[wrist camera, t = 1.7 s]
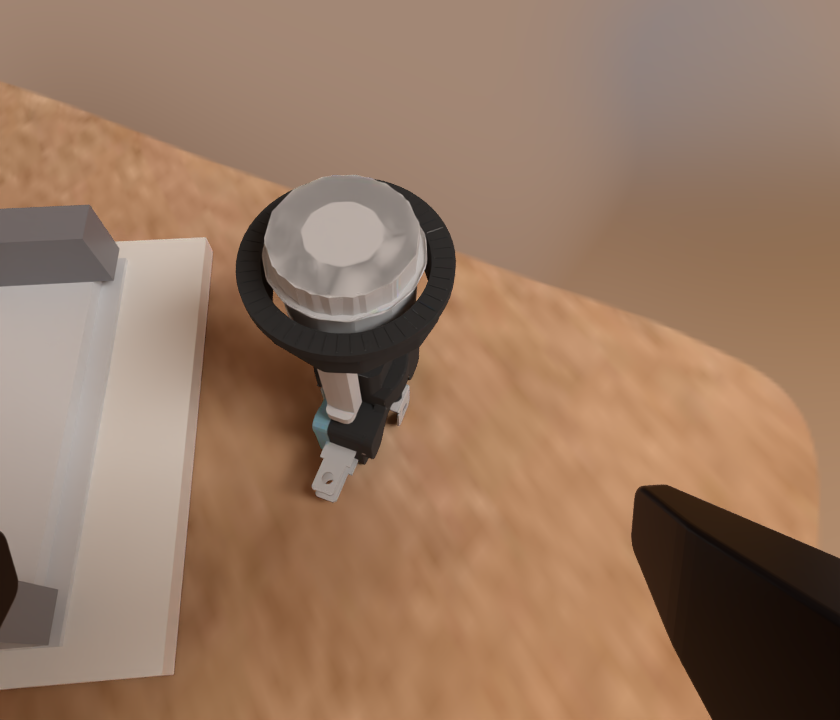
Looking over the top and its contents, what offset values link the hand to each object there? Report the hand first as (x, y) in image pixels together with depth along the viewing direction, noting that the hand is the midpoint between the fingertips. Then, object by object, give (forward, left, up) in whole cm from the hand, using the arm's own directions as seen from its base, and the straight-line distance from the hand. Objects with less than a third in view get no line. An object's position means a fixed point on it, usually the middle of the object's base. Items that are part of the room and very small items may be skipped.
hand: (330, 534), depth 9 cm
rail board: (+7, +12, -12) cm, 18 cm away
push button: (+7, 0, -12) cm, 14 cm away
